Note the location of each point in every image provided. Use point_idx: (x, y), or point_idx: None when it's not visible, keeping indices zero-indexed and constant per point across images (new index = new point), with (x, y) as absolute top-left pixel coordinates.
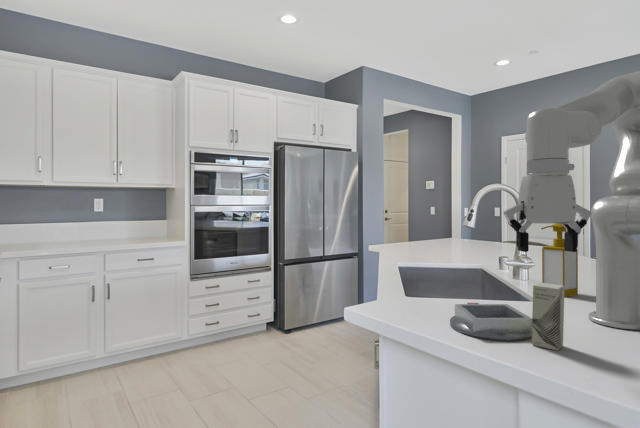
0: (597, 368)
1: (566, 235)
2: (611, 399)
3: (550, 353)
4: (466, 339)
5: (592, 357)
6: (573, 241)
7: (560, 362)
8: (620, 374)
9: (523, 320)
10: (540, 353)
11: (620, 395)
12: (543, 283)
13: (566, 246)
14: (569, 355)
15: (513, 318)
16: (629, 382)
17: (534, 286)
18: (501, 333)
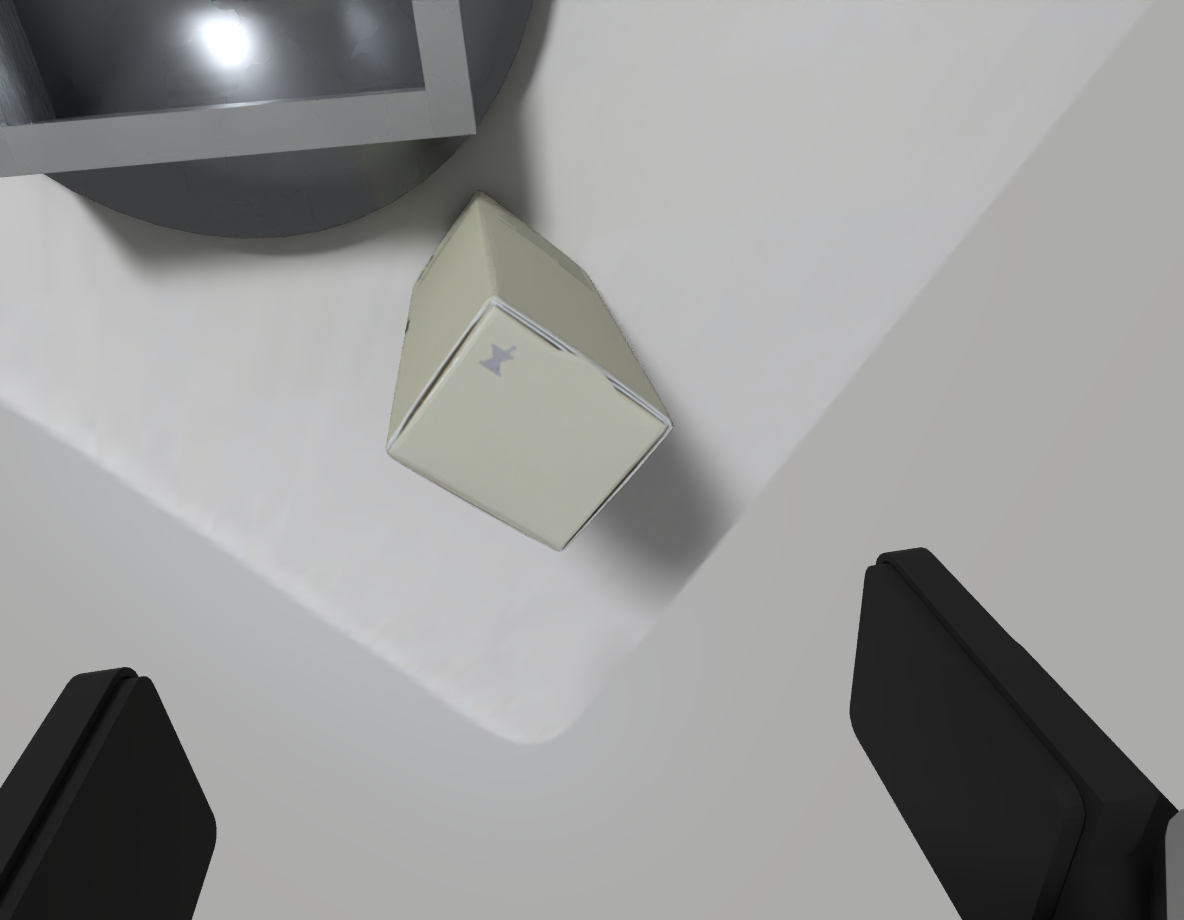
0: (599, 530)
1: (1008, 805)
2: (508, 732)
3: None
4: (2, 217)
5: None
6: (929, 849)
7: None
8: (653, 569)
9: (397, 139)
10: None
11: (550, 707)
12: (514, 370)
13: (891, 646)
14: None
15: (321, 122)
16: (639, 623)
17: (394, 455)
18: (242, 170)
